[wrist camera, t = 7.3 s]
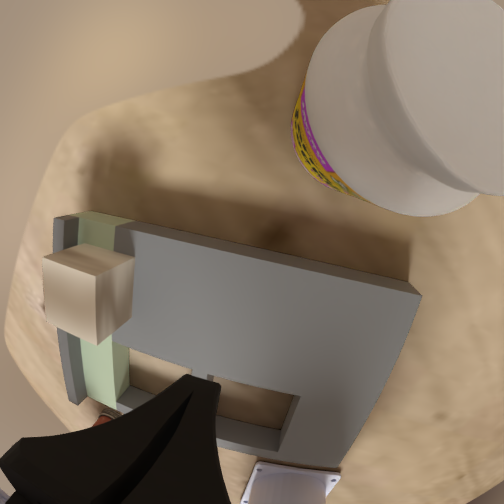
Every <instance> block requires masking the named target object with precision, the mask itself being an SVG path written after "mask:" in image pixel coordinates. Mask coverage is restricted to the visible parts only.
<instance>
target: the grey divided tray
mask: <svg viewBox="0 0 504 504" xmlns="http://www.w3.org/2000/svg"><path fill="white" fill-rule="evenodd" d="M83 243H86V244H90V245H93V246H97V247H100V248H104V249H108V250H111V251H115V252H118V253H122V254H125V255H129V256H133V257H135V267H134V282H133V301H132V318H130V319H129V320H128V321H127V322H125V323H124V324H123V325H122V326H121V327H119V328H118V329H117V330H116V331H115V332H113V333H112V334H111V335H110V336H108V337H107V338H106V339H105V340H104V341H102V342H101V343H100V344H99V345H98V346H96V345H94V344H92V343H89V342H87V341H85V340H83V339H81V338H79V337H76V336H74V335H72V334H70V333H68V332H66V331H64V330H62V329H60V328H58V327H57V334H58V342H59V349H60V356H61V362H62V368H63V374H64V379H65V384H66V389H67V394H68V399H69V401H71V402H72V403H74V404H76V405H79V404H80V403H81V402H82V401H83V400H84V399H85V398H86V397H87V396H88V397H90V398H92V399H94V400H96V401H98V402H100V403H102V404H105V405H107V406H109V407H111V408H113V409H115V410H118V411H120V412H122V413H124V414H126V413H128V412H129V411H131V410H133V409H135V408H137V407H138V406H140V405H142V404H144V403H145V402H147V401H149V400H150V399H152V398H153V397H155V396H156V395H153V394H151V393H148V392H145V391H143V390H140V389H138V388H135V387H133V386H130V378H129V348H131V349H134V350H137V351H139V352H142V353H145V354H148V355H150V356H153V357H156V358H159V359H162V360H165V361H168V362H171V363H174V364H177V365H180V366H183V367H186V368H189V369H192V376H195V377H199V378H202V379H206V380H209V381H213V377H214V376H217V377H220V378H224V379H228V380H231V381H235V382H239V383H243V384H247V385H251V386H255V387H260V388H264V389H268V390H273V391H278V392H282V393H287V394H292V395H294V397H293V400H292V403H291V405H290V408H289V411H288V413H287V416H286V418H285V421H284V424H283V426H282V429H281V430H277V429H272V428H267V427H263V426H258V425H254V424H249V423H245V422H241V421H237V420H233V419H229V418H225V417H222V416H218V415H216V441H217V446H218V447H222V448H225V449H229V450H233V451H237V452H241V453H246V454H250V455H255V456H259V457H264V458H269V459H274V460H280V461H286V462H292V463H298V464H305V465H313V466H321V467H331V468H337V467H338V466H339V464H340V463H341V461H342V459H343V458H344V456H345V455H346V453H347V452H348V450H349V449H350V447H351V445H352V444H353V442H354V440H355V439H356V437H357V435H358V434H359V432H360V430H361V429H362V427H363V425H364V423H365V422H366V420H367V418H368V416H369V415H370V413H371V411H372V409H373V407H374V405H375V403H376V402H377V400H378V398H379V396H380V394H381V392H382V390H383V388H384V386H385V384H386V382H387V380H388V378H389V376H390V374H391V371H392V369H393V367H394V365H395V363H396V361H397V358H398V356H399V354H400V352H401V349H402V347H403V345H404V342H405V340H406V337H407V335H408V333H409V330H410V328H411V325H412V322H413V320H414V317H415V315H416V312H417V309H418V306H419V304H420V301H421V298H422V295H421V294H420V293H419V292H418V291H417V290H416V289H415V288H414V287H413V286H412V285H411V284H410V283H409V282H406V281H401V280H397V279H393V278H389V277H384V276H380V275H376V274H371V273H367V272H362V271H358V270H354V269H349V268H345V267H341V266H336V265H332V264H328V263H323V262H319V261H314V260H310V259H306V258H301V257H297V256H292V255H288V254H283V253H279V252H275V251H270V250H266V249H261V248H257V247H252V246H248V245H243V244H239V243H235V242H230V241H226V240H221V239H217V238H212V237H208V236H203V235H199V234H194V233H190V232H185V231H181V230H176V229H172V228H167V227H162V226H158V225H153V224H149V223H144V222H140V221H135V220H131V219H126V218H121V217H117V216H112V215H108V214H103V213H98V212H94V211H87V212H82V213H76V214H71V215H66V216H61V217H56V218H54V223H53V253H56V252H59V251H62V250H65V249H68V248H71V247H74V246H77V245H80V244H83Z"/></svg>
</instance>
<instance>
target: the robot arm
mask: <svg viewBox="0 0 504 504" xmlns="http://www.w3.org/2000/svg"><path fill="white" fill-rule="evenodd" d="M220 391H221V385H220V384H219V383H216V382H213V381H209V380H206V379H202V378H199V377H195V376H192V375H189V374H185V375H183V376H182V377H181V378H180V379H178V380H177V381H176V382H175V383H173V384H172V385H171V386H169V387H168V388H166V389H165V390H164V391H162V392H161V393H159V394H158V395H156V396H155V397H153V398H152V399H150V400H149V401H147V402H145V403H144V404H142V405H140V406H138V407H137V408H135V409H133V410H131V411H129V412H128V413H126V414H123V415H121V416H119V417H117V418H115V419H112V420H110V421H108V422H105V423H102V424H99V425H96V426H93V427H90V428H87V429H84V430H80V431H75V432H71V433H66V434H61V435H55V436H45V437H28V438H21V439H20V440H19V441H18V442H16V443H15V444H14V445H13V446H12V447H11V448H10V449H9V450H8V451H7V452H6V453H5V454H4V455H3V456H2V457H1V458H0V468H1V470H2V471H3V473H4V474H5V476H6V477H7V478H8V480H9V481H10V483H11V484H12V486H13V487H14V488H15V490H16V491H15V492H14V493H13V494H12V496H11V497H10V496H8V495H7V494H6V493H5V492H4V491H3V490H1V489H0V504H231V502H230V499H229V496H228V493H227V490H226V486H225V483H224V480H223V476H222V471H221V467H220V462H219V456H218V450H217V441H216V412H217V407H218V402H219V396H220ZM340 478H341V474H340V473H338V472H329V471H319V470H311V469H303V468H296V467H290V466H284V465H278V464H272V463H267V462H262V461H260V462H257V463H256V464H255V467H254V469H253V472H252V474H251V477H250V479H249V482H248V484H247V487H246V489H245V492H244V494H243V496H242V499H241V501H240V504H326V496H327V495H328V494H329V492H330V491H331V490H332V489H333V487H334V486H335V485H336V483H337V482H338V481H339V479H340Z"/></svg>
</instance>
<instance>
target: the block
mask: <svg viewBox="0 0 504 504" xmlns="http://www.w3.org/2000/svg"><path fill="white" fill-rule="evenodd" d="M134 267H135V257H133V256H129V255H125V254H122V253H118V252H115V251H111V250H108V249H104V248H100V247H97V246H93V245H90V244H86V243H83V244H80V245H77V246H74V247H71V248H68V249H65V250H62V251H59V252H56V253H53V254H50V255H47V256H44V257H42V272H43V291H44V304H45V314H46V322H48V323H50V324H52V325H54V326H56V327H58V328H60V329H62V330H64V331H66V332H68V333H70V334H72V335H74V336H76V337H79V338H81V339H83V340H85V341H87V342H89V343H92V344H94V345H96V346H98V345H99V344H100V343H101V342H102V341H104V340H105V339H106V338H107V337H108V336H110V335H111V334H112V333H113V332H115V331H116V330H117V329H118V328H119V327H121V326H122V325H123V324H124V323H125V322H127V321H128V320H129V319H130V318H132V301H133V282H134Z"/></svg>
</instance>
